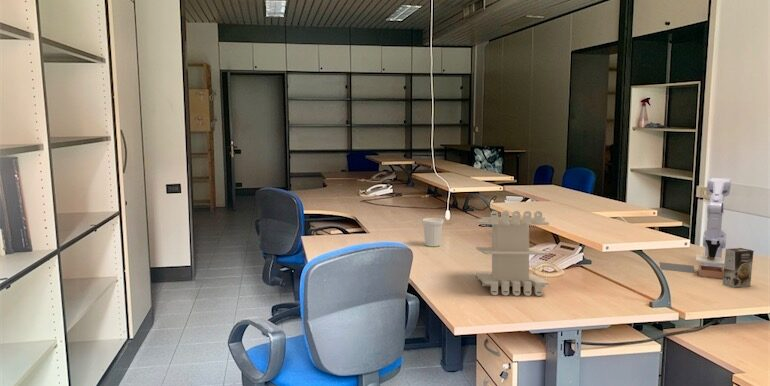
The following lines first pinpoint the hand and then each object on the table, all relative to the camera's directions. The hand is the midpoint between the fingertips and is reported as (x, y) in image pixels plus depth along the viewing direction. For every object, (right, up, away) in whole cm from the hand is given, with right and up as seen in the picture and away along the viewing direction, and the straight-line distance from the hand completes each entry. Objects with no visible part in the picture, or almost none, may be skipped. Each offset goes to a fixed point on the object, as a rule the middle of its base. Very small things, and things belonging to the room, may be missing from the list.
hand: (711, 256), depth 257 cm
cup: (-124, -1, +64) cm, 140 cm away
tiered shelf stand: (-97, -11, -12) cm, 98 cm away
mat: (-9, -7, +14) cm, 18 cm away
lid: (0, -2, 0) cm, 2 cm away
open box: (0, -9, +1) cm, 9 cm away
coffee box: (+3, -11, -14) cm, 18 cm away
